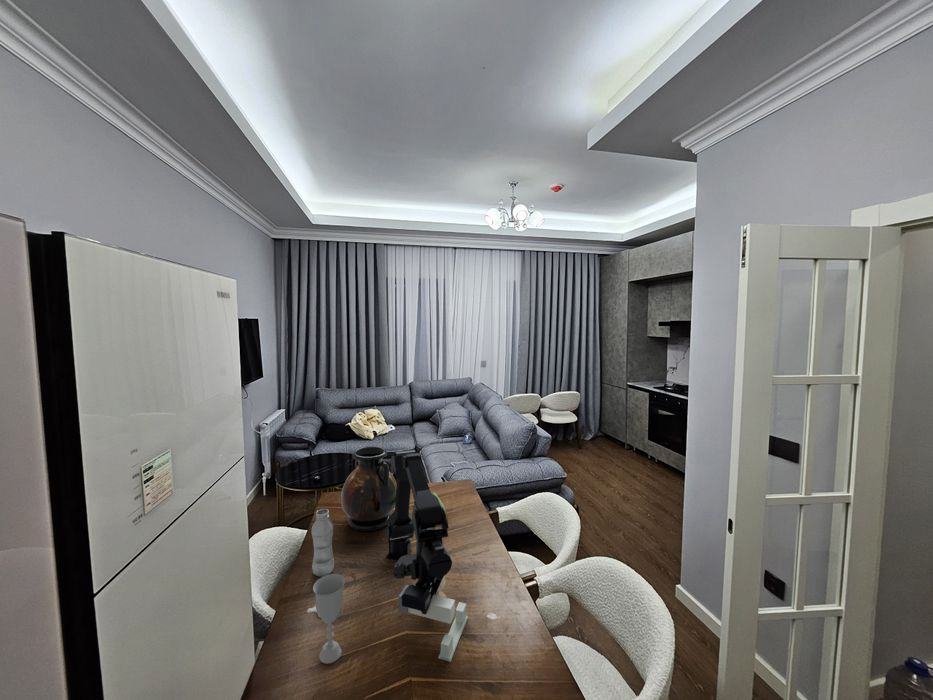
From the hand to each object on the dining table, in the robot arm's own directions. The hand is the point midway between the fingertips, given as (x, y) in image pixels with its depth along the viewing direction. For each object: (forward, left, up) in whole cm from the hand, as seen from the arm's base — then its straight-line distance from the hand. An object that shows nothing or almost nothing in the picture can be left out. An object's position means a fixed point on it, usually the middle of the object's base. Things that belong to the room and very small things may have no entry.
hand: (426, 608), depth 101 cm
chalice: (-19, -14, -6) cm, 24 cm away
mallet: (0, 0, -1) cm, 1 cm away
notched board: (+8, 0, -6) cm, 10 cm away
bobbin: (-2, +9, -6) cm, 11 cm away
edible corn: (-19, +57, -6) cm, 60 cm away
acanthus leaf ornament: (-30, -2, -7) cm, 31 cm away
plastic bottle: (-39, +10, -6) cm, 41 cm away
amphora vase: (-41, +41, -6) cm, 58 cm away
